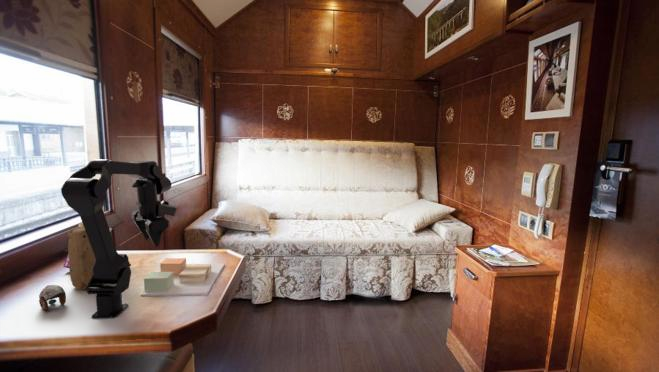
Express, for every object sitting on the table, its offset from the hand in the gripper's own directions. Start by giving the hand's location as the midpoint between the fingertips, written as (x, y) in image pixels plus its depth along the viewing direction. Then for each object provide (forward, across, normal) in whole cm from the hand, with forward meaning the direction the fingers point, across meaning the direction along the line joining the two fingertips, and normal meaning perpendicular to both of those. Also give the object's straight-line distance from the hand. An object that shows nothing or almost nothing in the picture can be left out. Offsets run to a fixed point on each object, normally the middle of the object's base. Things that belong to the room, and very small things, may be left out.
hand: (151, 242), depth 109 cm
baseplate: (+13, -8, -8) cm, 17 cm away
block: (+13, +9, +16) cm, 23 cm away
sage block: (+12, -10, +2) cm, 16 cm away
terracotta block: (+13, -1, -6) cm, 14 cm away
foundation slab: (+13, -10, -10) cm, 19 cm away
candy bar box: (+12, +23, +17) cm, 31 cm away
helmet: (+12, -1, +27) cm, 30 cm away
